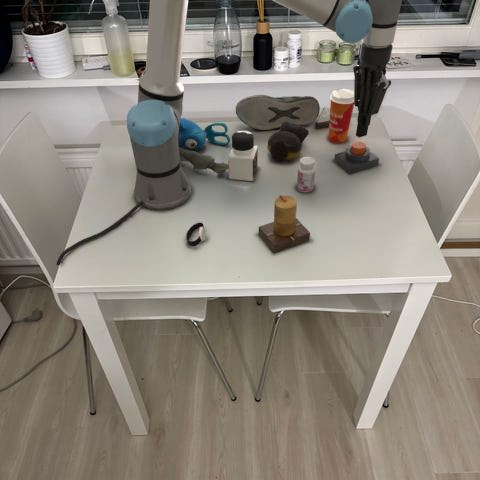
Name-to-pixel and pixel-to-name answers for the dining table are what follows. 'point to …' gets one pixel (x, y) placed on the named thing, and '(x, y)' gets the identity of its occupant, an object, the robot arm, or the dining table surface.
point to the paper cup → (340, 114)
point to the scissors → (216, 133)
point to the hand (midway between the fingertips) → (361, 135)
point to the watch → (201, 234)
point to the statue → (202, 161)
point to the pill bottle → (306, 174)
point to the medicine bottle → (243, 156)
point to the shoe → (277, 111)
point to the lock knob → (285, 215)
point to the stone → (323, 118)
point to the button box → (356, 160)
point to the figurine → (287, 141)
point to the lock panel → (283, 237)
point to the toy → (190, 135)
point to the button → (358, 148)
